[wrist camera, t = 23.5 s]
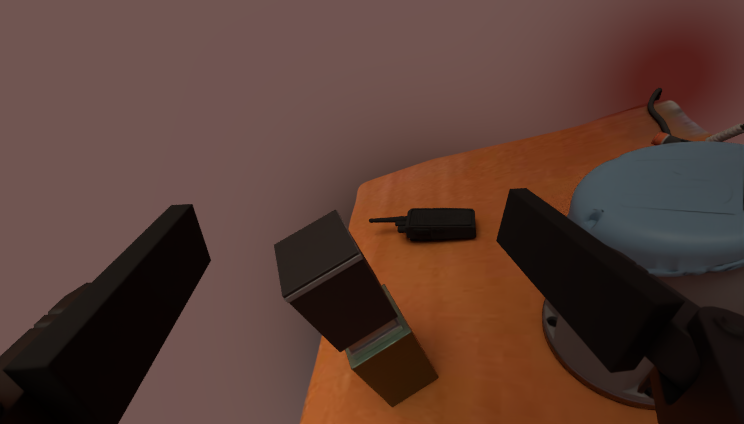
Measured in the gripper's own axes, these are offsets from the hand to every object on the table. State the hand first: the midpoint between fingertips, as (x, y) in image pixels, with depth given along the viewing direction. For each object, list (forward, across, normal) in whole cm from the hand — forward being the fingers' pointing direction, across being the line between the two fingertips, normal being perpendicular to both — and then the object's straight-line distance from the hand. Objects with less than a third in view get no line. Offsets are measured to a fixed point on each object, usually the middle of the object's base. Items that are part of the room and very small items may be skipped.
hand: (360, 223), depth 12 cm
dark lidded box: (+11, 0, -17) cm, 20 cm away
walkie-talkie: (+34, +15, -25) cm, 45 cm away
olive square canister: (+13, +7, -31) cm, 35 cm away
